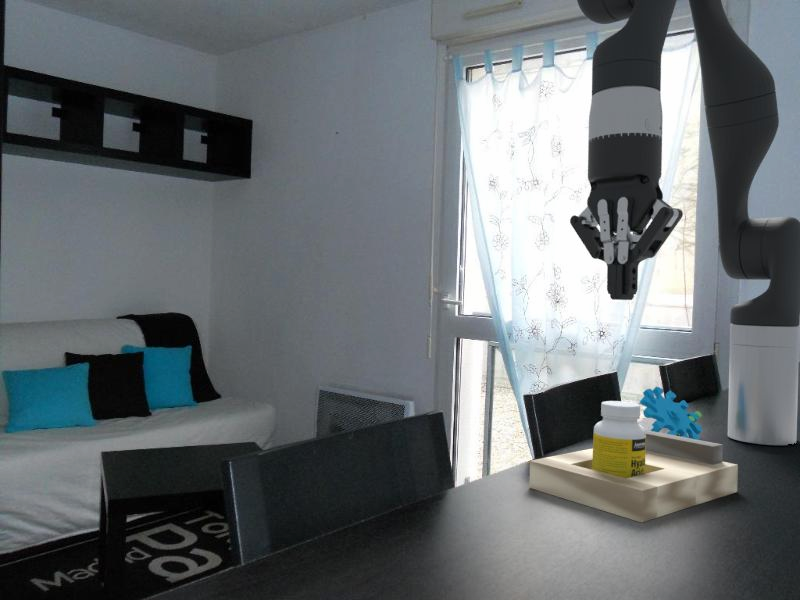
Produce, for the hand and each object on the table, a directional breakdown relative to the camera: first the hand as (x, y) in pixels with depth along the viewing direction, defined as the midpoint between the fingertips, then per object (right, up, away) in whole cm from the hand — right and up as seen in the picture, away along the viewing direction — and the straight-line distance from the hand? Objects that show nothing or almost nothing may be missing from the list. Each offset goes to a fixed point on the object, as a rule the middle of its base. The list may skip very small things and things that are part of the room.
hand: (621, 299), depth 75 cm
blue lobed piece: (+17, -21, +29) cm, 40 cm away
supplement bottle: (0, -21, 0) cm, 21 cm away
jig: (+2, -21, +2) cm, 21 cm away
